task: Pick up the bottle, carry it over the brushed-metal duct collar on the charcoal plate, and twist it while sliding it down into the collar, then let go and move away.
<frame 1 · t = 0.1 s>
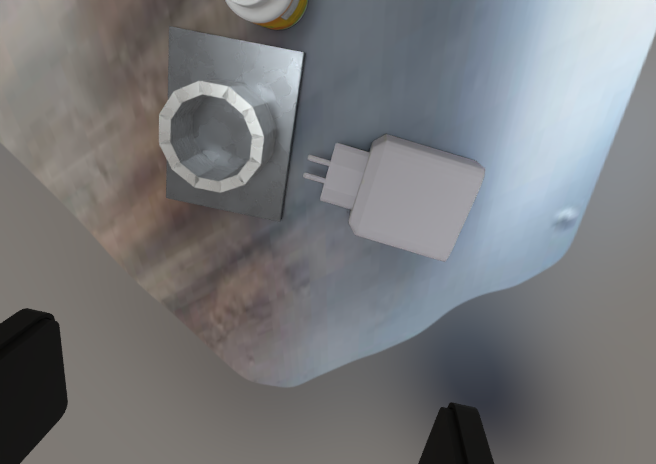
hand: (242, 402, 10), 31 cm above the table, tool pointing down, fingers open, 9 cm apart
duct collar: (232, 130, 39), on the table
charger: (382, 181, 39), on the table
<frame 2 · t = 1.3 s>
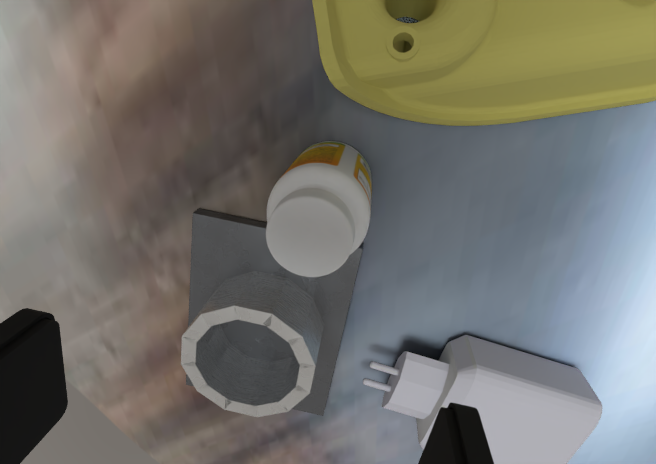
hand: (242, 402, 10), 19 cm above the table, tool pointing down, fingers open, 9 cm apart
duct collar: (267, 316, 32), on the table
supplement bottle: (332, 179, 27), on the table
charger: (456, 376, 32), on the table
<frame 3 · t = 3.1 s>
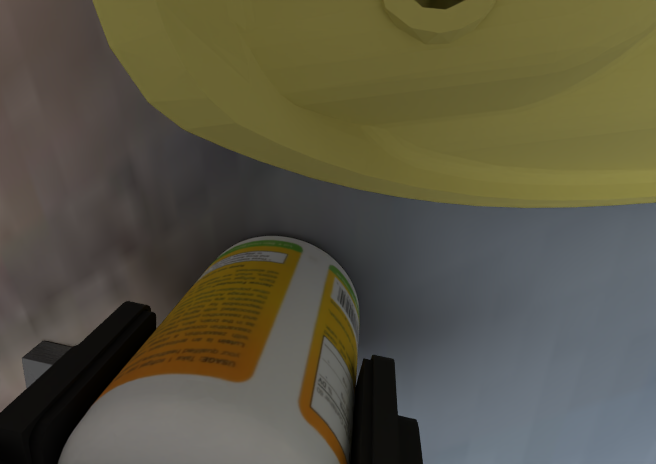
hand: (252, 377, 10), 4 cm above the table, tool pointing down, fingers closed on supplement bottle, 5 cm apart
supplement bottle: (283, 300, 14), on the table, touching gripper
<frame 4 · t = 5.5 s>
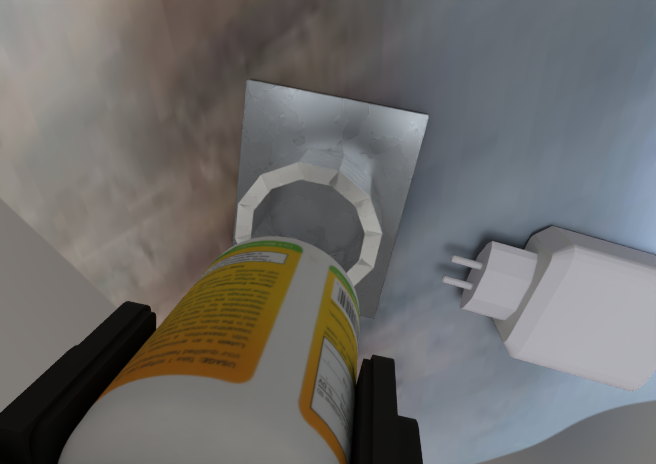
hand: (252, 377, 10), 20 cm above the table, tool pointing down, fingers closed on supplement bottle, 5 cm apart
duct collar: (318, 206, 30), on the table
supplement bottle: (283, 301, 14), point 16 cm above the table, touching gripper
charger: (535, 278, 31), on the table
when the fingers open (7 cm above the table, at t = 8.1 s): supplement bottle drops 2 cm, resting on duct collar.
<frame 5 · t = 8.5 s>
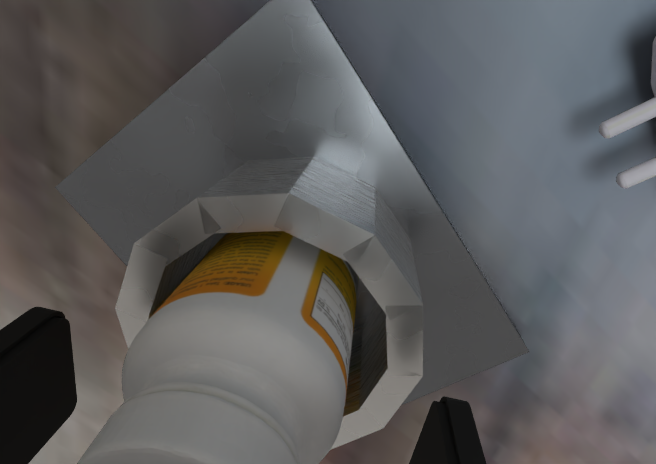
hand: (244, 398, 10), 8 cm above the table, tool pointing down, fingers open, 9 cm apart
duct collar: (299, 259, 17), on the table
supplement bottle: (293, 261, 16), point 1 cm above the table, touching duct collar
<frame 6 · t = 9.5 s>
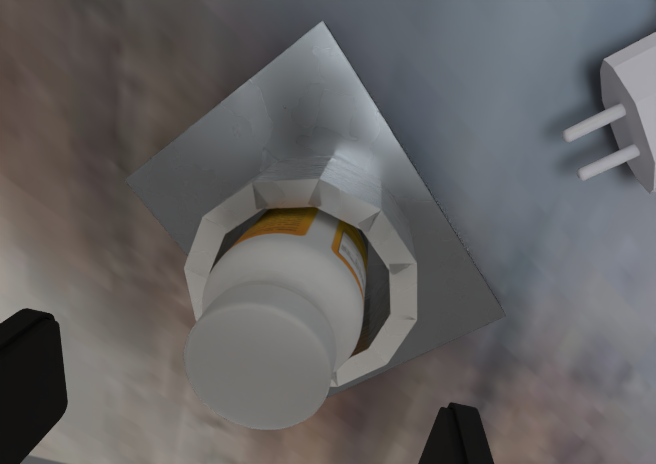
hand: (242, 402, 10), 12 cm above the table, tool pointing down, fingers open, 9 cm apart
duct collar: (318, 240, 21), on the table
supplement bottle: (314, 240, 20), point 1 cm above the table, touching duct collar
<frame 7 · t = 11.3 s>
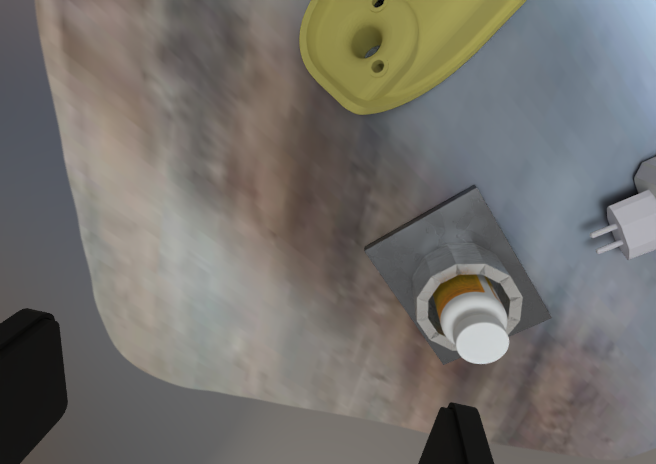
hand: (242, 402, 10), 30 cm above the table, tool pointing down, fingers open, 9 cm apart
duct collar: (456, 279, 41), on the table
supplement bottle: (457, 280, 40), point 1 cm above the table, touching duct collar
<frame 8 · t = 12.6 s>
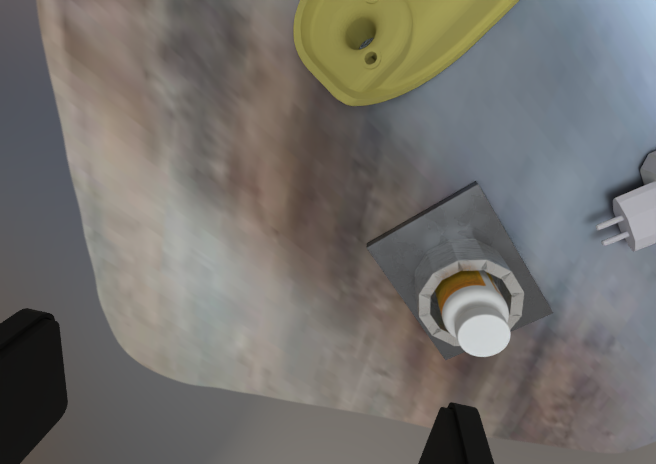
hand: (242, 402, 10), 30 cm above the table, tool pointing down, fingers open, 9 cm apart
duct collar: (458, 275, 41), on the table
supplement bottle: (459, 276, 40), point 1 cm above the table, touching duct collar
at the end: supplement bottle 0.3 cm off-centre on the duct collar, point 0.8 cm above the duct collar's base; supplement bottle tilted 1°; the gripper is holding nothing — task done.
